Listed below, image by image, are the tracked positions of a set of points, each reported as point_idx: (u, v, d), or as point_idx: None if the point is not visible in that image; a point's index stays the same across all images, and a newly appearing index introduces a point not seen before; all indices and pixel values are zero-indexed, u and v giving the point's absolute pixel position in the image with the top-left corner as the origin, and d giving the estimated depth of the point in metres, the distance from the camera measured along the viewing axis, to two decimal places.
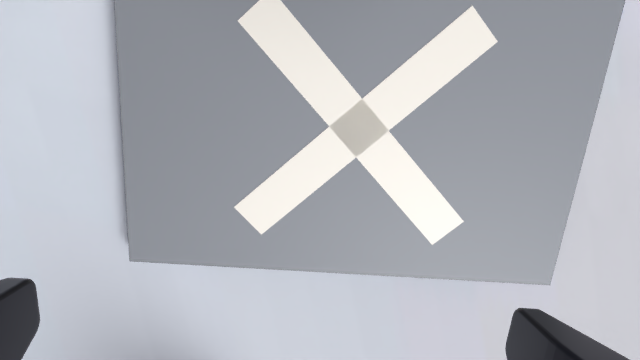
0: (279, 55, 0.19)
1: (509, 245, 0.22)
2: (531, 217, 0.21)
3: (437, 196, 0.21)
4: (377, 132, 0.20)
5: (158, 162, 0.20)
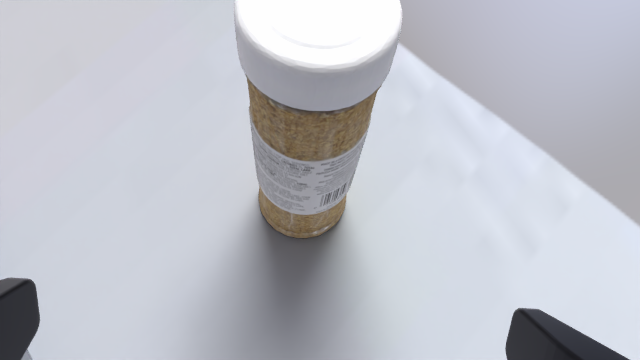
0: None
1: None
2: None
3: None
4: None
5: None
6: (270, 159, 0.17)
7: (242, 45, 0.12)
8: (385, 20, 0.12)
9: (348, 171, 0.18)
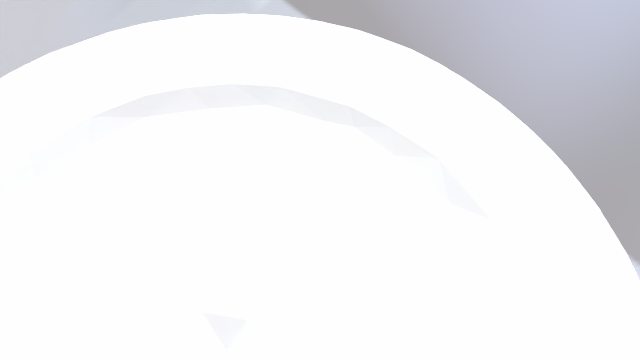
0: None
1: None
2: None
3: None
4: None
5: None
6: None
7: None
8: None
9: None
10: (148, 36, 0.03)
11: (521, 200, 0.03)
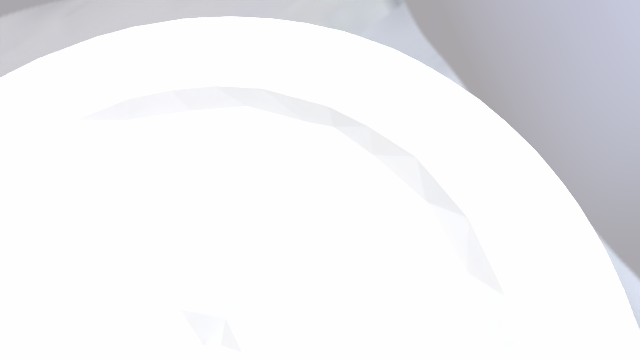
0: None
1: None
2: None
3: None
4: None
5: None
6: None
7: None
8: None
9: None
10: (134, 40, 0.03)
11: (499, 198, 0.03)
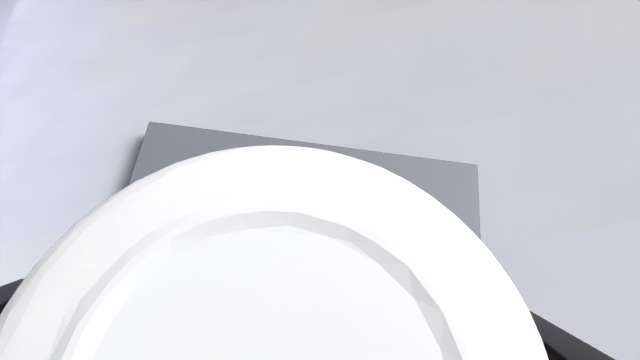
0: None
1: None
2: None
3: None
4: None
5: None
6: None
7: None
8: None
9: None
10: (204, 170, 0.04)
11: (464, 295, 0.04)
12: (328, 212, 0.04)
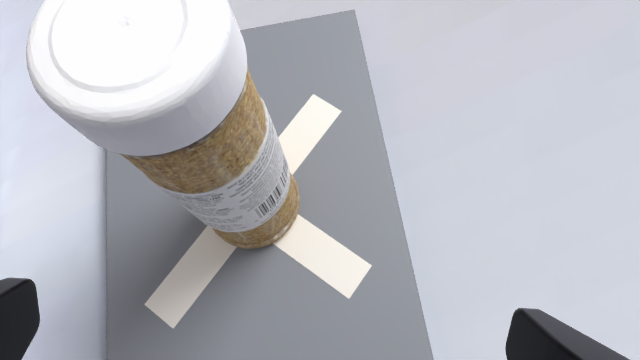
0: (197, 285, 0.21)
1: (326, 52, 0.25)
2: (297, 46, 0.25)
3: (295, 121, 0.24)
4: None
5: None
6: (176, 197, 0.15)
7: (53, 109, 0.10)
8: (204, 23, 0.10)
9: (270, 177, 0.16)
10: None
11: None
12: None
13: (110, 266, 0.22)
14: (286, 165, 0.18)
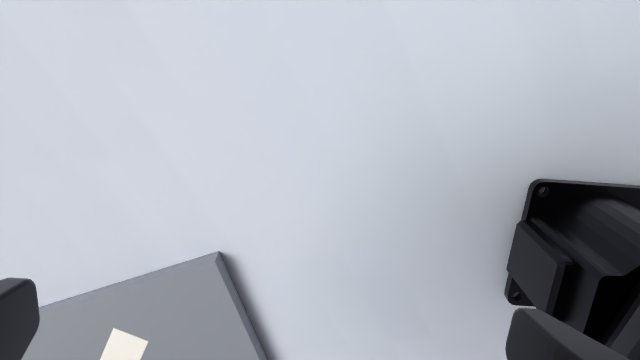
0: None
1: None
2: None
3: None
4: None
5: (224, 352, 0.23)
6: None
7: None
8: None
9: None
10: None
11: None
12: None
13: None
14: None
